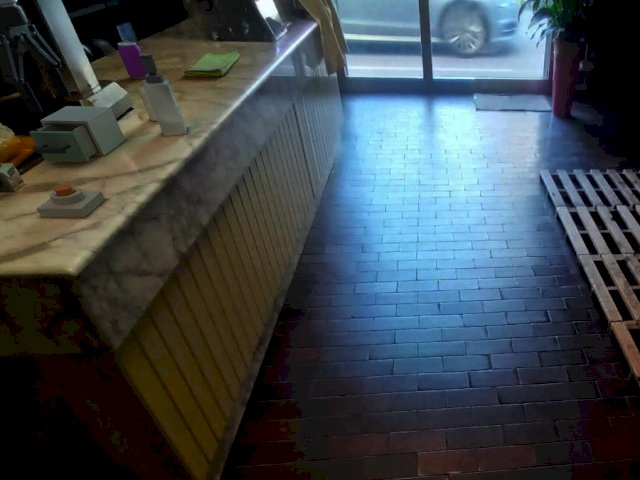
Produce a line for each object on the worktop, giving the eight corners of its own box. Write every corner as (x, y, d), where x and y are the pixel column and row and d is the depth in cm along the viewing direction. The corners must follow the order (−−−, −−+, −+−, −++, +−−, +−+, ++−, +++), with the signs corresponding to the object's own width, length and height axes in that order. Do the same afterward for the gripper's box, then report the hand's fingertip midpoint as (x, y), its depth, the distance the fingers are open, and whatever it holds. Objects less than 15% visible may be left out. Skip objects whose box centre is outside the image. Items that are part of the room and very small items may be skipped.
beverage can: (145, 73, 217) (131, 40, 209) (154, 77, 214) (141, 43, 206) (126, 77, 212) (111, 43, 204) (135, 80, 209) (121, 46, 201)
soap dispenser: (186, 125, 173) (158, 49, 158) (186, 134, 168) (156, 56, 152) (165, 127, 171) (134, 50, 156) (163, 136, 166) (131, 57, 150)
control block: (85, 217, 125) (76, 201, 122) (41, 217, 124) (31, 201, 121) (105, 199, 132) (97, 184, 129) (64, 199, 131) (55, 184, 128)
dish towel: (184, 77, 215) (181, 68, 213) (206, 57, 241) (203, 49, 238) (223, 77, 218) (220, 68, 215) (240, 57, 243) (238, 49, 241)
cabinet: (104, 155, 152) (86, 121, 146) (59, 155, 151) (39, 120, 145) (125, 139, 162) (110, 106, 155) (83, 139, 161) (66, 106, 154)
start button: (70, 197, 124) (66, 190, 123) (54, 197, 124) (50, 190, 123) (78, 191, 127) (74, 184, 126) (62, 191, 126) (58, 184, 125)
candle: (146, 120, 176) (132, 87, 169) (157, 115, 180) (144, 83, 173) (161, 121, 175) (148, 89, 168) (171, 117, 179) (159, 85, 172)
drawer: (79, 167, 143) (63, 138, 138) (36, 167, 142) (18, 137, 137) (109, 146, 155) (95, 118, 150) (69, 145, 155) (54, 117, 149)
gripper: (-18, 14, 112) (39, 118, 126) (46, -3, 130) (90, 90, 144) (-56, 12, 111) (6, 118, 126) (14, -4, 129) (61, 90, 144)
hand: (51, 103), depth 135 cm, fingers open, 13 cm apart
